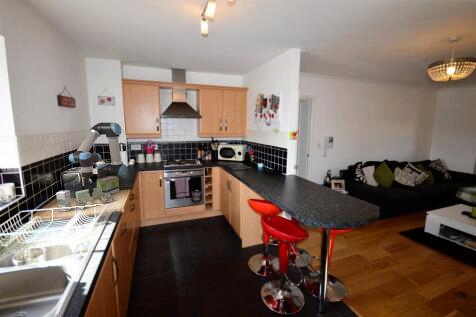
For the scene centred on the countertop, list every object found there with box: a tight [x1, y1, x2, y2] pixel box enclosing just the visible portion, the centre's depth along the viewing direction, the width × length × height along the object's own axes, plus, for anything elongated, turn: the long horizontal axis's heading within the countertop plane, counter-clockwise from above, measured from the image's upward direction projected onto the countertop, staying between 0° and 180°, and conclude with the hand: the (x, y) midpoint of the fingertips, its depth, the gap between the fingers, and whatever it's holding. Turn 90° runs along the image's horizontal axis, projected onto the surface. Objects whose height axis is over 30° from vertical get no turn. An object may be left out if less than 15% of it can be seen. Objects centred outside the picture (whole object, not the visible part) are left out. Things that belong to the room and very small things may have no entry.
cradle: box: [74, 193, 113, 211], centre depth 168 cm, size 22×12×6 cm, turn 142°
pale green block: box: [75, 186, 102, 202], centre depth 174 cm, size 17×5×10 cm, turn 142°
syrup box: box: [55, 190, 73, 213], centre depth 155 cm, size 6×6×14 cm
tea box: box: [96, 176, 120, 196], centre depth 194 cm, size 15×10×15 cm, turn 168°
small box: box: [63, 181, 84, 199], centre depth 186 cm, size 13×7×12 cm, turn 72°
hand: (90, 199), depth 174 cm, fingers open, 5 cm apart
